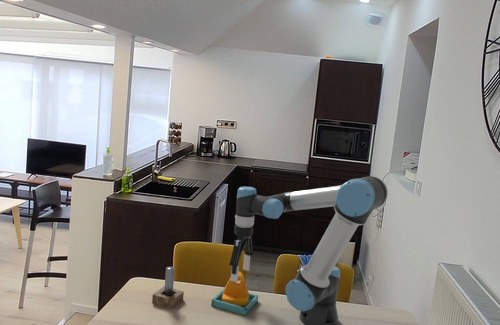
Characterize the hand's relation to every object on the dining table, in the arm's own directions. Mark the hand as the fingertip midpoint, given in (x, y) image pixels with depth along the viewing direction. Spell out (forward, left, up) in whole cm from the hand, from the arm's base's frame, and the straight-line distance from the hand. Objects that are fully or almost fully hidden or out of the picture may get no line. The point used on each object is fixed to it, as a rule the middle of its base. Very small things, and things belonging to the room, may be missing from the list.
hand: (240, 275), depth 186 cm
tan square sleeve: (+25, +14, -12) cm, 31 cm away
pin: (+25, +14, -12) cm, 31 cm away
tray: (+1, +1, -12) cm, 12 cm away
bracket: (+1, +1, -12) cm, 12 cm away
